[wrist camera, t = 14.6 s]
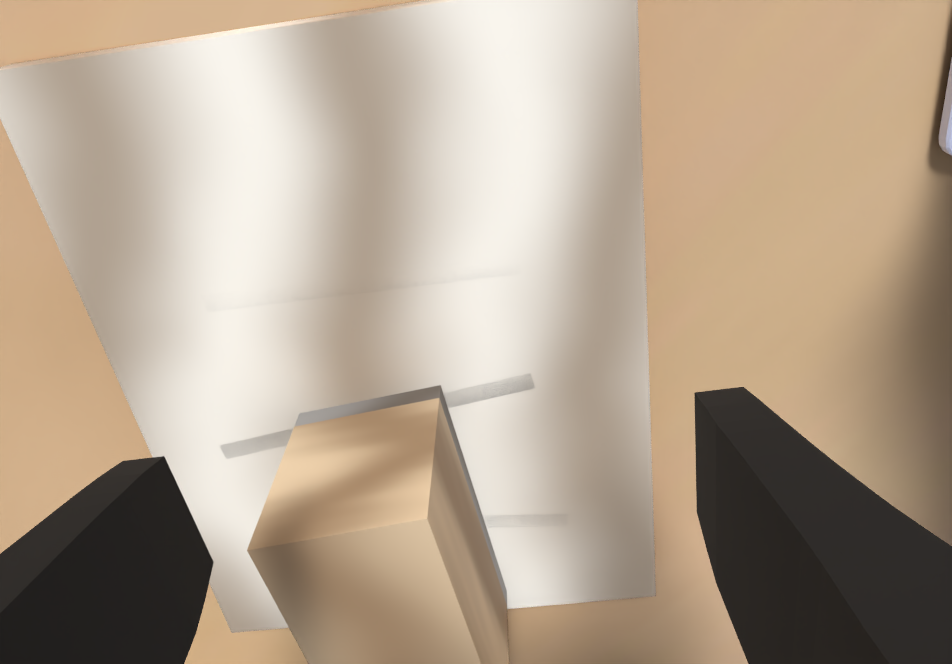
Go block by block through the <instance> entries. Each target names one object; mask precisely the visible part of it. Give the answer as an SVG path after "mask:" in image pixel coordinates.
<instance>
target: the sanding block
mask: <svg viewBox="0 0 952 664" xmlns="http://www.w3.org/2000/svg"><path fill="white" fill-rule="evenodd" d="M247 552H248V554H249V555H250V557H251V559H252V561H253V563H254V565H255V566H256V568H257V570H258V572H259V574H260V576H261V577H262V579H263V581H264V583H265V585H266V587H267V588H268V590H269V592H270V594H271V596H272V598H273V599H274V601H275V603H276V605H277V607H278V609H279V610H280V612H281V614H282V616H283V618H284V620H285V621H286V623H287V625H288V627H289V629H290V631H291V632H292V634H293V636H294V638H295V640H296V641H297V643H298V645H299V647H300V649H301V651H302V652H303V654H304V656H305V658H306V660H307V662H308V663H309V664H509V653H508V619H507V590H506V587H505V584H504V581H503V578H502V574H501V571H500V568H499V565H498V562H497V559H496V556H495V553H494V550H493V546H492V543H491V540H490V537H489V534H488V531H487V528H486V525H485V522H484V518H483V515H482V512H481V509H480V506H479V503H478V500H477V497H476V494H475V490H474V487H473V484H472V481H471V478H470V475H469V472H468V469H467V466H466V462H465V459H464V456H463V453H462V450H461V447H460V444H459V441H458V438H457V434H456V431H455V428H454V425H453V422H452V419H451V416H450V413H449V410H448V406H447V403H446V400H445V397H444V394H443V391H442V388H441V385H439V386H434V387H429V388H424V389H419V390H414V391H409V392H404V393H399V394H394V395H389V396H384V397H379V398H374V399H369V400H364V401H359V402H354V403H349V404H344V405H339V406H334V407H329V408H324V409H319V410H314V411H309V412H304V413H299V415H298V418H297V421H296V423H295V426H294V429H293V431H292V434H291V436H290V439H289V442H288V444H287V447H286V449H285V452H284V455H283V457H282V460H281V462H280V465H279V468H278V470H277V473H276V476H275V478H274V481H273V483H272V486H271V489H270V491H269V494H268V496H267V499H266V502H265V504H264V507H263V509H262V512H261V515H260V517H259V520H258V523H257V525H256V528H255V530H254V533H253V536H252V538H251V541H250V543H249V546H248V549H247Z"/></svg>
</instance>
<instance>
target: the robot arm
mask: <svg viewBox="0 0 952 664" xmlns="http://www.w3.org/2000/svg"><path fill="white" fill-rule="evenodd" d="M939 145H940V147H941V149H942V150H943V151H944V152H946V153H948V154H950V155H952V59H951V65H950V71H949V77H948V83H947V89H946V95H945V101H944V107H943V113H942V119H941V125H940V132H939ZM695 436H696V489H697V514H698V518H699V521H700V525H701V529H702V533H703V537H704V540H705V544H706V548H707V552H708V555H709V559H710V562H711V566H712V569H713V573H714V576H715V580H716V583H717V586H718V588H719V591H720V593H721V596H722V599H723V601H724V604H725V606H726V609H727V611H728V614H729V616H730V619H731V621H732V624H733V626H734V629H735V631H736V634H737V636H738V639H739V641H740V644H741V646H742V649H743V651H744V653H745V656H746V658H747V661H748V663H749V664H952V546H950V545H949V544H947V543H946V542H944V541H943V540H941V539H940V538H938V537H937V536H935V535H934V534H933V533H931V532H930V531H928V530H927V529H925V528H924V527H922V526H921V525H919V524H918V523H916V522H915V521H914V520H912V519H911V518H909V517H908V516H906V515H905V514H903V513H902V512H900V511H899V510H898V509H896V508H895V507H893V506H892V505H891V504H889V503H888V502H887V501H885V500H884V499H882V498H881V497H880V496H878V495H877V494H876V493H874V492H873V491H872V490H870V489H869V488H868V487H867V486H865V485H864V484H863V483H861V482H860V481H859V480H857V479H856V478H855V477H853V476H852V475H851V474H850V473H848V472H847V471H846V470H844V469H843V468H842V467H840V466H839V465H838V464H837V463H835V462H834V461H833V460H831V459H830V458H829V457H828V456H826V455H825V454H824V453H823V452H821V451H820V450H819V449H818V448H817V447H815V446H814V445H813V444H812V443H810V442H809V441H808V440H807V439H806V438H804V437H803V436H802V435H801V434H799V433H798V432H797V431H796V430H795V429H793V428H792V427H791V426H790V425H789V424H787V423H786V422H785V421H784V420H783V419H781V418H780V417H779V416H778V415H777V414H776V413H774V412H773V411H772V410H771V409H770V408H768V407H767V406H766V405H765V404H764V403H762V402H761V401H760V400H759V399H758V398H756V397H755V396H754V395H753V394H752V393H750V392H749V391H748V390H747V389H745V388H744V387H738V388H730V389H721V390H713V391H705V392H696V393H695ZM213 563H214V562H213V559H212V557H211V555H210V553H209V551H208V549H207V547H206V544H205V542H204V540H203V538H202V536H201V534H200V532H199V529H198V527H197V525H196V523H195V521H194V519H193V517H192V514H191V512H190V510H189V508H188V506H187V504H186V502H185V500H184V497H183V495H182V493H181V491H180V489H179V487H178V485H177V482H176V480H175V478H174V476H173V474H172V472H171V470H170V467H169V465H168V463H167V461H166V459H165V457H164V456H162V457H153V458H145V459H137V460H128V461H122V462H121V463H119V464H118V465H116V466H115V467H113V468H112V469H110V470H109V471H107V472H106V473H104V474H103V475H102V476H100V477H99V478H97V479H96V480H95V481H93V482H92V483H91V484H89V485H88V486H87V487H85V488H84V489H83V490H81V491H80V492H79V493H77V494H76V495H75V496H73V497H72V498H71V499H70V500H68V501H67V502H66V503H64V504H63V505H62V506H61V507H59V508H58V509H57V510H56V511H54V512H53V513H52V514H50V515H49V516H48V517H47V518H45V519H44V520H43V521H42V522H40V523H39V524H38V525H36V526H35V527H34V528H33V529H31V530H30V531H29V532H28V533H26V534H25V535H24V536H22V537H21V538H20V539H19V540H17V541H16V542H15V543H14V544H12V545H11V546H10V547H9V548H7V549H6V550H5V551H3V552H2V553H1V554H0V664H184V662H185V660H186V657H187V655H188V652H189V650H190V647H191V644H192V642H193V639H194V636H195V634H196V631H197V627H198V623H199V620H200V616H201V613H202V609H203V605H204V602H205V598H206V593H207V589H208V585H209V581H210V576H211V572H212V568H213Z"/></svg>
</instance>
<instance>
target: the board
mask: <svg viewBox="0 0 952 664" xmlns="http://www.w3.org/2000/svg"><path fill="white" fill-rule="evenodd" d="M0 119H1V121H2V123H3V126H4V128H5V130H6V132H7V135H8V137H9V139H10V141H11V143H12V146H13V148H14V150H15V152H16V155H17V157H18V159H19V161H20V163H21V166H22V168H23V170H24V172H25V175H26V177H27V179H28V181H29V183H30V186H31V188H32V190H33V192H34V195H35V197H36V199H37V201H38V203H39V206H40V208H41V210H42V212H43V215H44V217H45V219H46V221H47V223H48V226H49V228H50V230H51V232H52V235H53V237H54V239H55V241H56V243H57V246H58V248H59V250H60V252H61V255H62V257H63V259H64V261H65V263H66V266H67V268H68V270H69V272H70V275H71V277H72V279H73V281H74V283H75V286H76V288H77V290H78V292H79V295H80V297H81V299H82V301H83V303H84V306H85V308H86V310H87V312H88V315H89V317H90V319H91V321H92V323H93V326H94V328H95V330H96V332H97V335H98V337H99V339H100V341H101V343H102V346H103V348H104V350H105V352H106V355H107V357H108V359H109V361H110V363H111V366H112V368H113V370H114V372H115V375H116V377H117V379H118V381H119V383H120V386H121V388H122V390H123V392H124V395H125V397H126V399H127V401H128V403H129V406H130V408H131V410H132V412H133V415H134V417H135V419H136V421H137V423H138V426H139V428H140V430H141V432H142V435H143V437H144V439H145V441H146V443H147V446H148V448H149V450H150V452H151V455H152V457H162V456H164V457H165V459H166V461H167V463H168V465H169V467H170V470H171V472H172V474H173V476H174V478H175V480H176V482H177V485H178V487H179V489H180V491H181V493H182V495H183V497H184V500H185V502H186V504H187V506H188V508H189V510H190V512H191V514H192V517H193V519H194V521H195V523H196V525H197V527H198V529H199V532H200V534H201V536H202V538H203V540H204V542H205V544H206V547H207V549H208V551H209V553H210V555H211V557H212V559H213V562H214V563H213V568H212V572H211V576H210V581H209V583H210V586H211V588H212V590H213V592H214V595H215V597H216V599H217V601H218V603H219V606H220V608H221V610H222V612H223V615H224V617H225V619H226V621H227V623H228V626H229V628H230V630H231V632H232V633H234V632H246V631H257V630H269V629H281V628H289V627H288V625H287V623H286V621H285V620H284V618H283V616H282V614H281V612H280V610H279V609H278V607H277V605H276V603H275V601H274V599H273V598H272V596H271V594H270V592H269V590H268V588H267V587H266V585H265V583H264V581H263V579H262V577H261V576H260V574H259V572H258V570H257V568H256V566H255V565H254V563H253V561H252V559H251V557H250V555H249V554H248V552H247V549H248V546H249V543H250V541H251V538H252V536H253V533H254V530H255V528H256V525H257V523H258V520H259V517H260V515H261V512H262V509H263V507H264V504H265V502H266V499H267V496H268V494H269V491H270V489H271V486H272V483H273V481H274V478H275V476H276V473H277V470H278V468H279V465H280V462H281V460H282V457H283V455H284V452H285V449H286V447H287V444H288V442H289V439H290V436H291V434H292V431H293V429H294V426H295V423H296V421H297V418H298V415H299V413H304V412H309V411H314V410H319V409H324V408H329V407H334V406H339V405H344V404H349V403H354V402H359V401H364V400H369V399H374V398H379V397H384V396H389V395H394V394H399V393H404V392H409V391H414V390H419V389H424V388H429V387H434V386H439V385H441V388H442V391H443V394H444V397H445V400H446V403H447V406H448V410H449V413H450V416H451V419H452V422H453V425H454V428H455V431H456V434H457V438H458V441H459V444H460V447H461V450H462V453H463V456H464V459H465V462H466V466H467V469H468V472H469V475H470V478H471V481H472V484H473V487H474V490H475V494H476V497H477V500H478V503H479V506H480V509H481V512H482V515H483V518H484V522H485V525H486V528H487V531H488V534H489V537H490V540H491V543H492V546H493V550H494V553H495V556H496V559H497V562H498V565H499V568H500V571H501V574H502V578H503V581H504V584H505V587H506V590H507V609H513V608H524V607H536V606H548V605H559V604H571V603H583V602H594V601H606V600H617V599H629V598H641V597H652V596H656V584H655V551H654V519H653V487H652V455H651V422H650V390H649V358H648V325H647V293H646V261H645V229H644V196H643V164H642V132H641V100H640V67H639V35H638V3H637V0H424V1H417V2H411V3H404V4H398V5H391V6H385V7H378V8H372V9H365V10H359V11H352V12H346V13H339V14H333V15H326V16H320V17H313V18H307V19H301V20H294V21H288V22H281V23H275V24H268V25H262V26H255V27H249V28H242V29H236V30H229V31H223V32H216V33H210V34H203V35H197V36H190V37H184V38H177V39H171V40H164V41H158V42H151V43H145V44H138V45H132V46H125V47H119V48H112V49H106V50H99V51H93V52H86V53H80V54H73V55H67V56H60V57H54V58H47V59H41V60H34V61H28V62H21V63H15V64H10V65H7V66H3V67H0Z"/></svg>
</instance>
